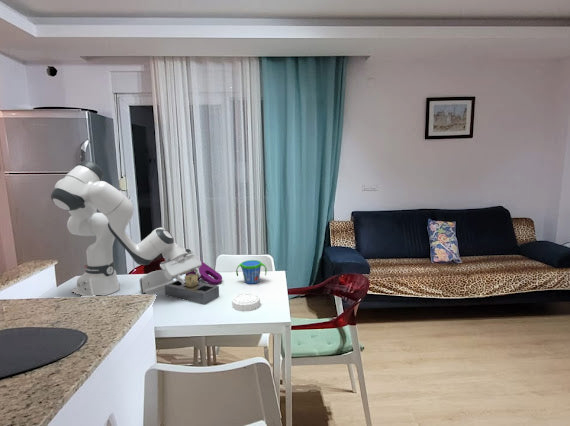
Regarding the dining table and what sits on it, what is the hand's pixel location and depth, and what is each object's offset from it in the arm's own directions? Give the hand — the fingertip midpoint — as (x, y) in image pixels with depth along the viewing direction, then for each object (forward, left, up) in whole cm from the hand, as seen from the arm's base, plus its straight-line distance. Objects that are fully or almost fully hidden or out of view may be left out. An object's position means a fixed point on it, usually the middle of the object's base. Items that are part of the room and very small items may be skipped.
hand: (192, 280), depth 161 cm
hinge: (-23, +3, -8) cm, 25 cm away
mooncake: (+28, -1, -8) cm, 30 cm away
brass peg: (-1, 0, -8) cm, 8 cm away
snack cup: (+17, +26, -8) cm, 32 cm away
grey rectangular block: (-1, 0, -8) cm, 8 cm away
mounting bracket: (-6, +19, -8) cm, 21 cm away
